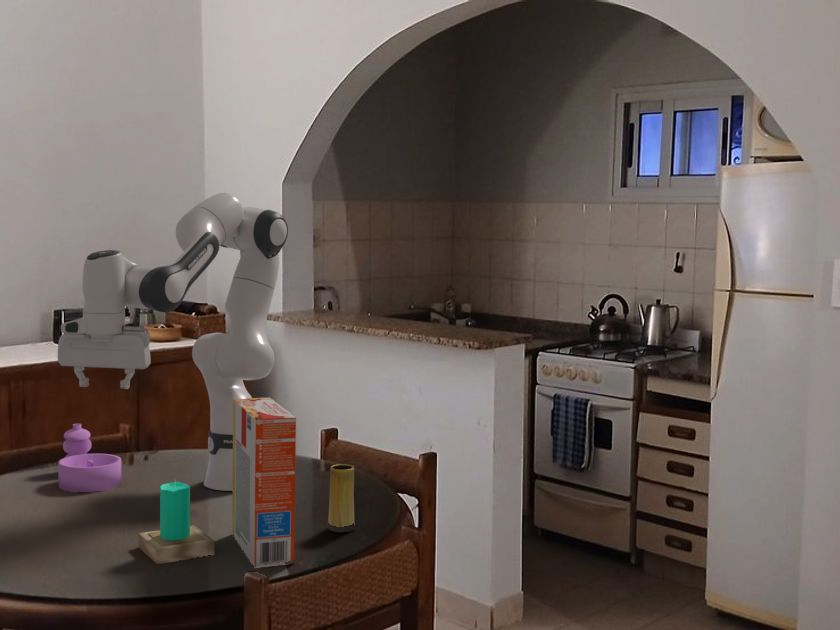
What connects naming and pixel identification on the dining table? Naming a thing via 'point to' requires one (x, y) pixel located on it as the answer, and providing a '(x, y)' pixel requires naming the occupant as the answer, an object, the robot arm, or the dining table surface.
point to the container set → (86, 465)
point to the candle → (174, 511)
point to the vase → (341, 495)
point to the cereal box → (264, 480)
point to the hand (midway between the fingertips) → (104, 387)
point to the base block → (176, 546)
